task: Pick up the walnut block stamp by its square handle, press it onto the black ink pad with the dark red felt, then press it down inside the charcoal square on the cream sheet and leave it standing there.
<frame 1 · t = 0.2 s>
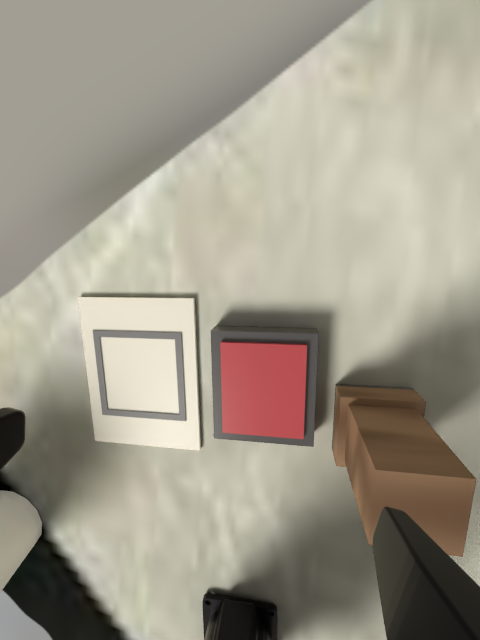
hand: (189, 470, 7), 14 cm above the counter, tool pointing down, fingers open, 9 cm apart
paper sheet: (142, 374, 23), on the counter
stamp: (370, 419, 21), on the counter
foam cup: (14, 517, 28), on the counter
ink pad: (264, 380, 21), on the counter
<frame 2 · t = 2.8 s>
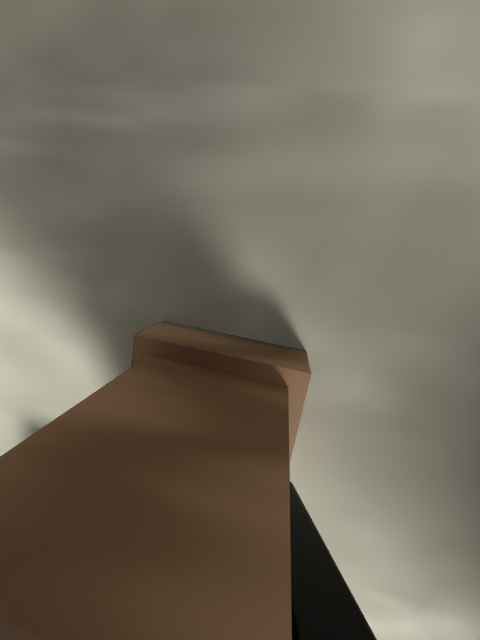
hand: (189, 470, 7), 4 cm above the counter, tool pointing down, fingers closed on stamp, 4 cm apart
stamp: (221, 401, 11), on the counter, touching gripper
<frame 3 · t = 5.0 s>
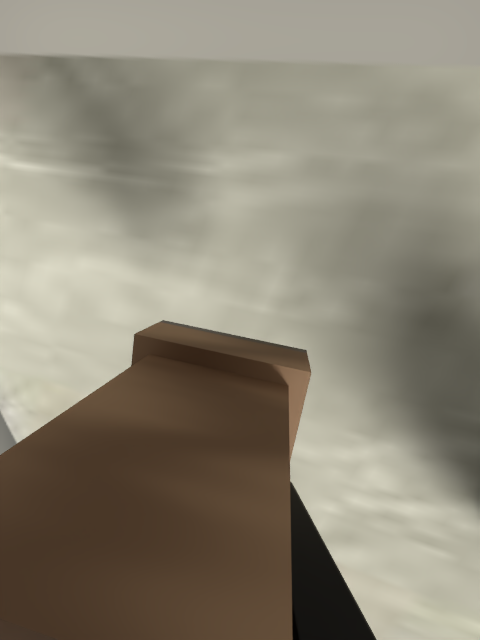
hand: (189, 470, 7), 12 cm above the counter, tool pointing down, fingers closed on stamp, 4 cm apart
stamp: (221, 401, 11), point 9 cm above the counter, touching gripper
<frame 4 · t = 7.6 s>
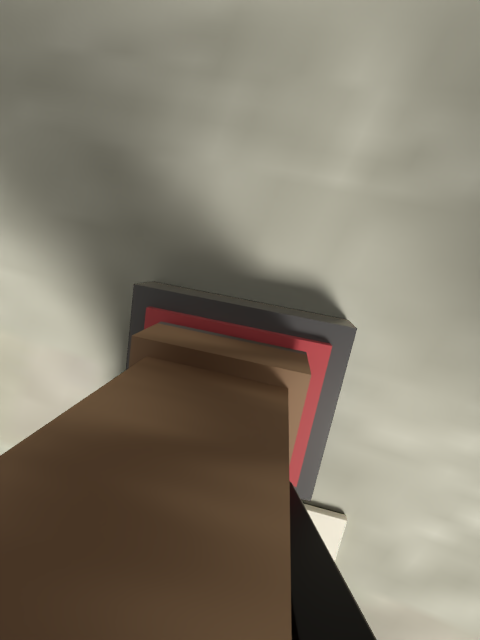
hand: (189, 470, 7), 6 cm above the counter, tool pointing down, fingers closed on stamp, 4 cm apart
paper sheet: (200, 556, 15), on the counter
stamp: (220, 403, 10), point 2 cm above the counter, touching gripper
ink pad: (231, 380, 13), on the counter
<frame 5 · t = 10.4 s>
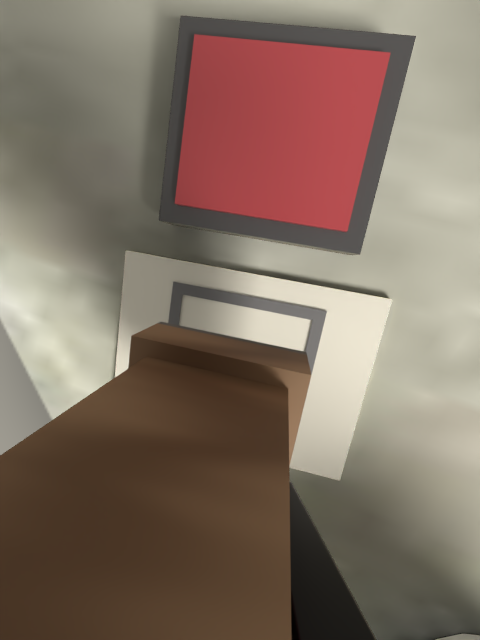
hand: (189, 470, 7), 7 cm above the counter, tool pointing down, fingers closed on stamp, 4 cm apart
paper sheet: (236, 365, 14), on the counter
stamp: (219, 403, 10), point 4 cm above the counter, touching gripper
ink pad: (274, 153, 12), on the counter
when the fingers open (4 cm above the counter, at t = 12.4 s): stamp stays where it is, resting on paper sheet.
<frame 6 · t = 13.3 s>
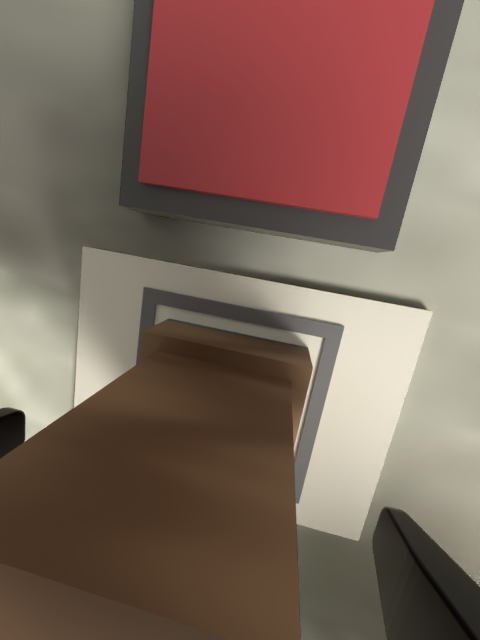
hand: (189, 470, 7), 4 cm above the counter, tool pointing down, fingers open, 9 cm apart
paper sheet: (225, 394, 11), on the counter
stamp: (225, 397, 11), resting on paper sheet
ink pad: (275, 115, 9), on the counter
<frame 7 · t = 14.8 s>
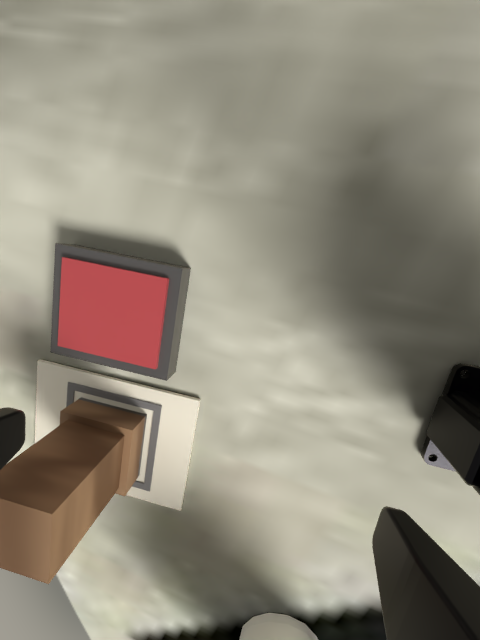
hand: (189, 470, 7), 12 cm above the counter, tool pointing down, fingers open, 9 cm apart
paper sheet: (112, 434, 22), on the counter
stamp: (110, 436, 21), resting on paper sheet
ink pad: (125, 309, 20), on the counter
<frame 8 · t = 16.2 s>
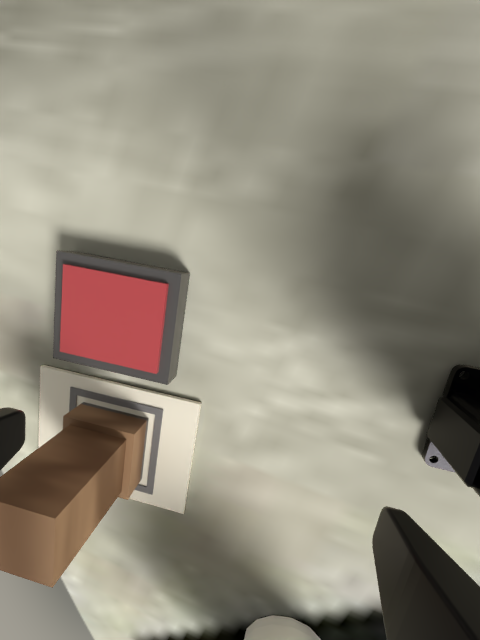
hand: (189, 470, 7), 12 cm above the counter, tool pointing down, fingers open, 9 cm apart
paper sheet: (115, 438, 22), on the counter
stamp: (113, 440, 21), resting on paper sheet
ink pad: (125, 314, 20), on the counter
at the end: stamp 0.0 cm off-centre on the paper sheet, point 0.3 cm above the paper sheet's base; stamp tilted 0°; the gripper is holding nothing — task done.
